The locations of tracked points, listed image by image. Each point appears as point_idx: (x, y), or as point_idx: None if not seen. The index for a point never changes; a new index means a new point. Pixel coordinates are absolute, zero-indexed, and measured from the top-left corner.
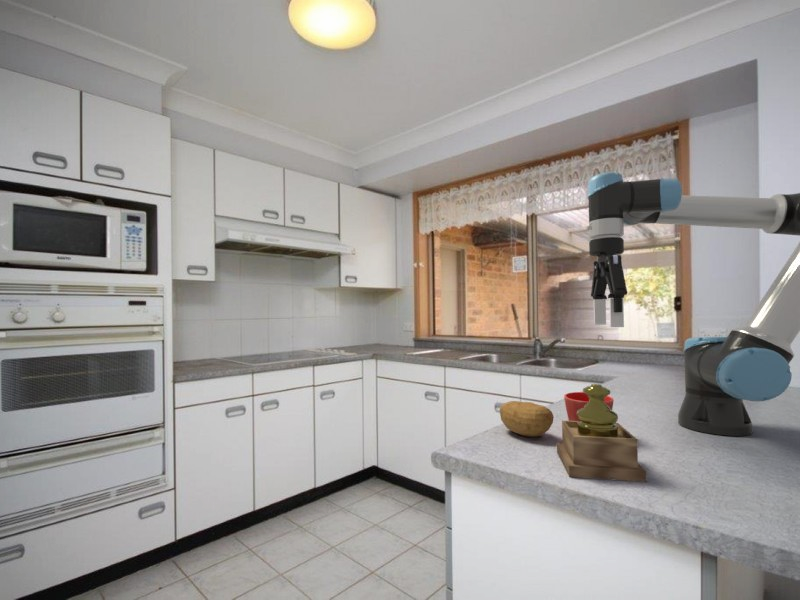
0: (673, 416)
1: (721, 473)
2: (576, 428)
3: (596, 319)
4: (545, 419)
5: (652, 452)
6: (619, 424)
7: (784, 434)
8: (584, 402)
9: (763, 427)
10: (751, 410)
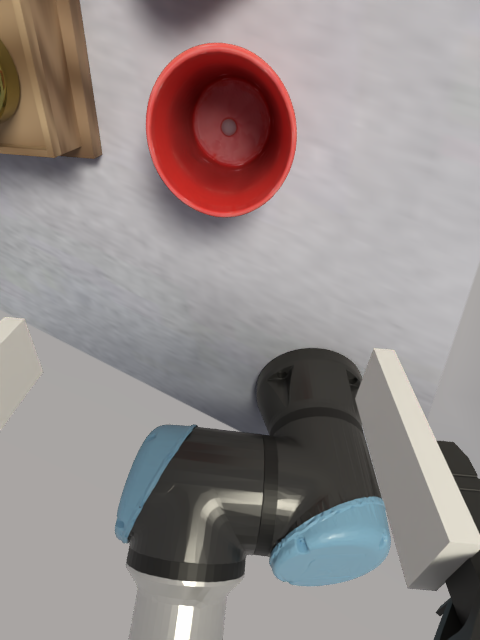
0: None
1: (69, 283)
2: (13, 21)
3: (380, 382)
4: None
5: (143, 226)
6: (37, 155)
7: None
8: (148, 102)
9: None
10: None
